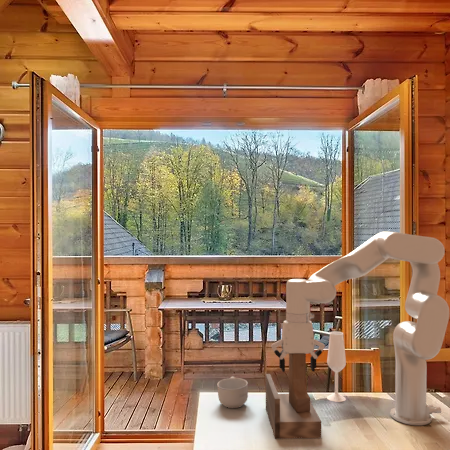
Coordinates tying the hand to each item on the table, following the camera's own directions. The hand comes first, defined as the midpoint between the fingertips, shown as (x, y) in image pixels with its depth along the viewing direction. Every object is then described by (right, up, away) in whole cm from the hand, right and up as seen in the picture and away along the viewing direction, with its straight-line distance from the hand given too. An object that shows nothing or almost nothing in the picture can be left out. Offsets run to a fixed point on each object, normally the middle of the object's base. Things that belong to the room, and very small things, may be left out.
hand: (297, 370), depth 149 cm
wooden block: (+1, -12, 0) cm, 12 cm away
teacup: (-21, -17, +15) cm, 31 cm away
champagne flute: (+17, -17, +20) cm, 31 cm away
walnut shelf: (-2, -17, 0) cm, 17 cm away
